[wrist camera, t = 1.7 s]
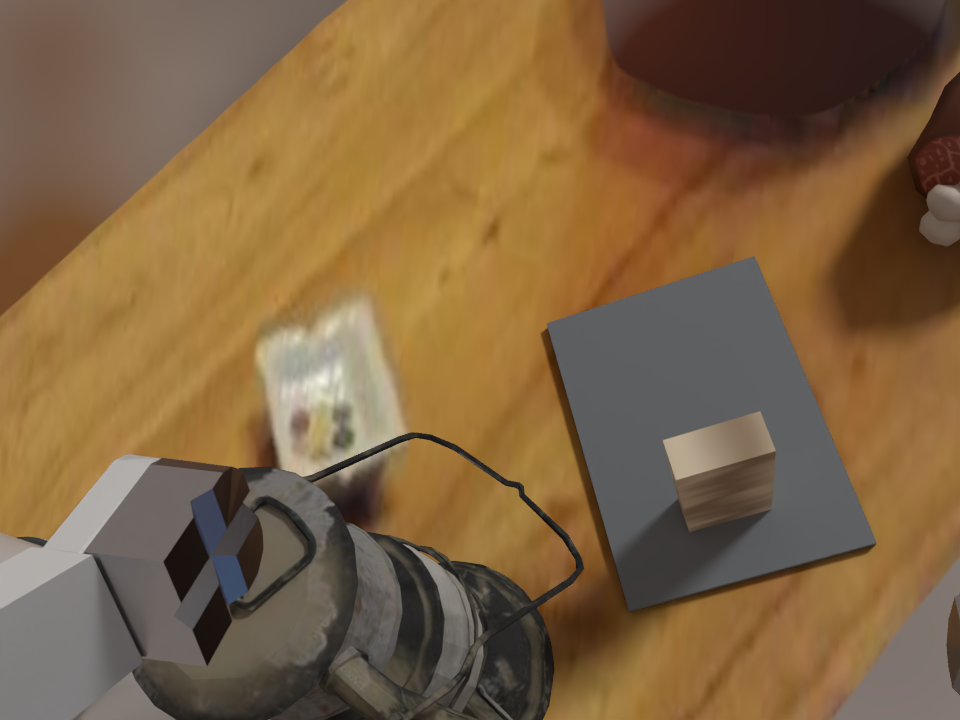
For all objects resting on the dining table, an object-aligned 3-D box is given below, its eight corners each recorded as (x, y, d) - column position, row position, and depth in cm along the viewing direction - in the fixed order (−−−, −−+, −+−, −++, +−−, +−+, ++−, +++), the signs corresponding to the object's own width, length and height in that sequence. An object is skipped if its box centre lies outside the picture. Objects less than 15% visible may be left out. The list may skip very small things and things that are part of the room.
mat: (629, 612, 60) (628, 610, 59) (548, 327, 70) (546, 323, 69) (875, 545, 58) (876, 542, 57) (754, 260, 68) (754, 256, 67)
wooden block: (689, 532, 60) (675, 480, 50) (678, 498, 61) (662, 440, 51) (771, 509, 60) (775, 450, 49) (758, 475, 61) (760, 410, 50)
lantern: (286, 658, 65) (-32, 575, 38) (462, 453, 68) (276, 244, 41) (476, 865, 56) (232, 940, 30) (667, 620, 59) (598, 492, 33)
